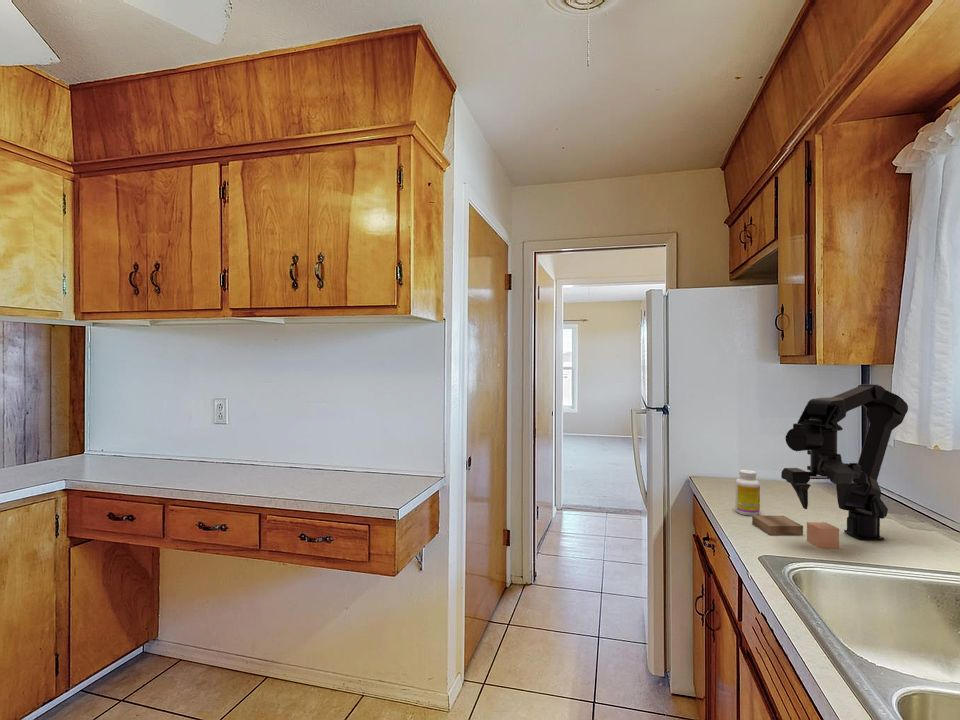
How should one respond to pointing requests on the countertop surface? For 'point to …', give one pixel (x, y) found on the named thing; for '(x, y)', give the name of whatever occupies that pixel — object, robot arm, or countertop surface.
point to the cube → (823, 534)
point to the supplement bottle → (747, 493)
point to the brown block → (777, 525)
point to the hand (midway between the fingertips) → (823, 508)
